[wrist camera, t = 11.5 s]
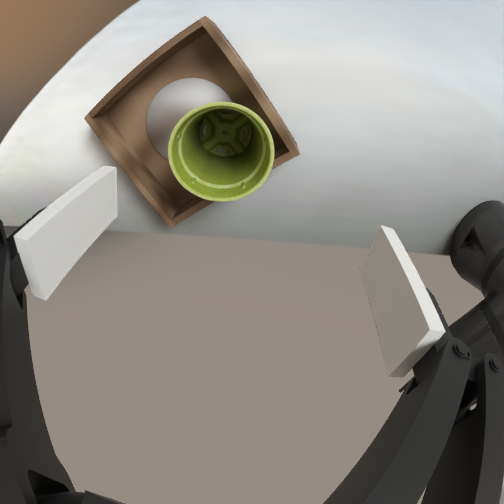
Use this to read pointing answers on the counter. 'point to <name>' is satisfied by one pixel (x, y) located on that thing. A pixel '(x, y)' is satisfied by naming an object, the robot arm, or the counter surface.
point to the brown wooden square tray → (178, 112)
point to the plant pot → (216, 163)
